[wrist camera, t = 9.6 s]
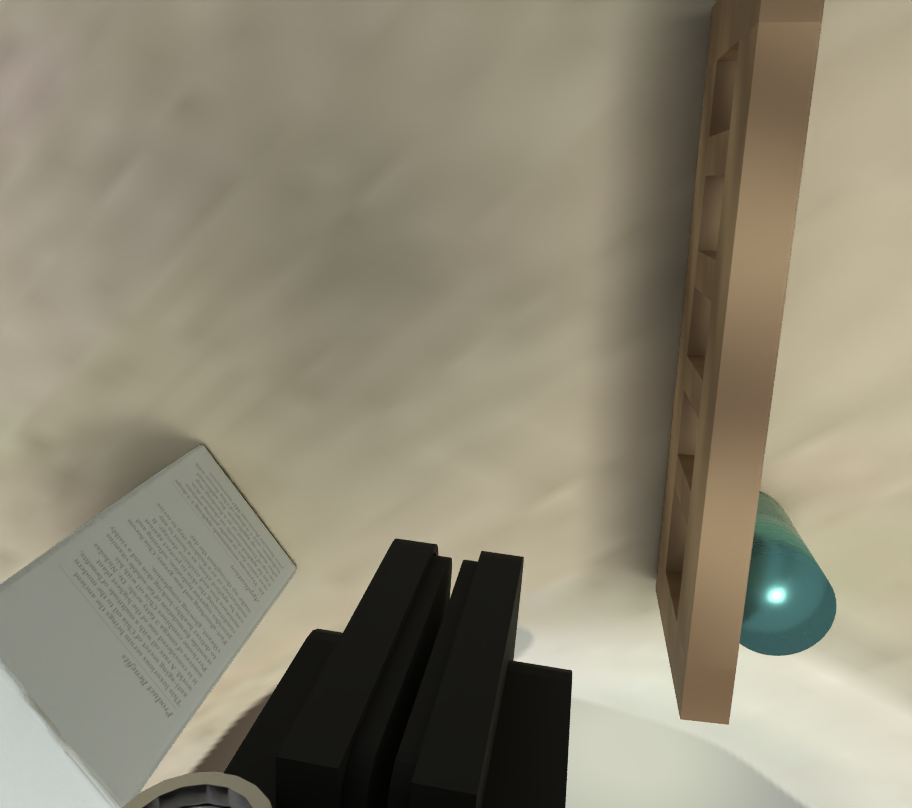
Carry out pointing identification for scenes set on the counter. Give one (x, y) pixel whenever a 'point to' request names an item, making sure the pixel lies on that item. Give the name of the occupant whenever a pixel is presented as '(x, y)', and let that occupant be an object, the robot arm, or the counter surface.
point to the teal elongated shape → (783, 588)
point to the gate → (731, 333)
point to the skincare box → (128, 635)
